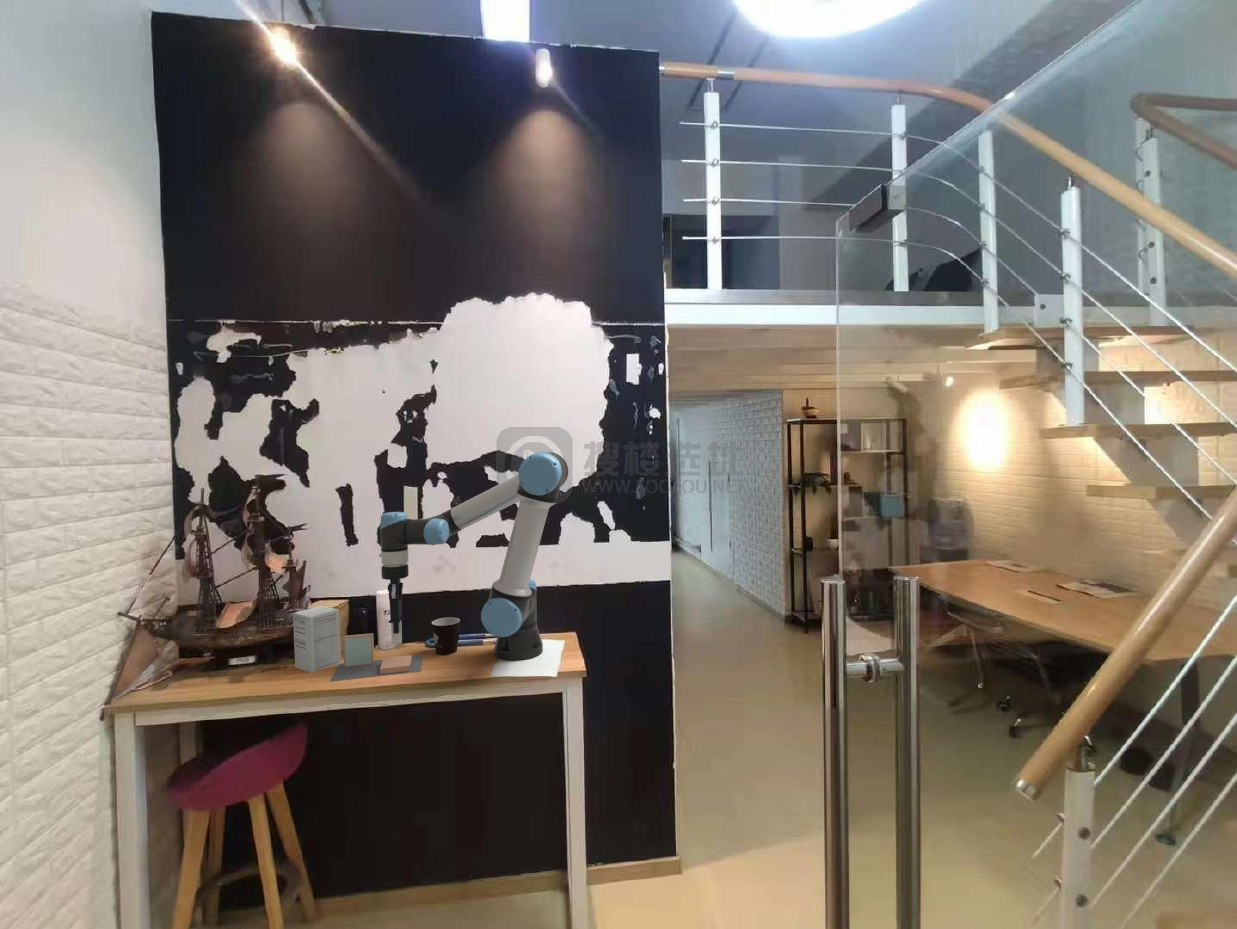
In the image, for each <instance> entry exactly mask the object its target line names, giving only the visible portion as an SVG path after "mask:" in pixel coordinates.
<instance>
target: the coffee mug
mask: <svg viewBox="0 0 1237 929" xmlns="http://www.w3.org/2000/svg"><path fill="white" fill-rule="evenodd" d="M460 622H461V619H460V618H459V617H449V616H448V617H442V618H437V619H435V620H434V619H433V621H431V628H432V634H433V636H432V637H433V642H434V648H435V649H434V650H435V654H436V655H438V656H448V655H452V654H455V653H457V651H458V646H459V645H458V643H459V641H460Z"/></svg>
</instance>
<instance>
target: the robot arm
mask: <svg viewBox="0 0 1237 929" xmlns="http://www.w3.org/2000/svg"><path fill="white" fill-rule="evenodd" d="M568 476H569V466H568V463H567V461H566V460H565V459H564V457H563V456H561V455H560V454H558V453H555V452H549V451H548V452H543V451H539V452H534V453H532V454H530V455H529V456H527V457H526V458H525V459H524V460H523V461H522V462H521V464H520V465H519V469H518V474H516V475H515V476H512V477H511V478H508V479H507V480H504V481H502V482H500V483H499V484H497V485H495V486H493V487H491V488H489V489H487V490H485V491H484V492H481V493H479V494H477V495H475V496H473V497H471V498H469V499H467V500H465V501H463V502H462V503H459V504H458V505H455V506H453V507H451V508H450V509H448V510H445V511H444V512H442V513H440V514H438V515H435V516H431V517H427V518H418V519H417V518H414V519H412V518H408V514H407V513H406V512H405V511H393V512H392V511H389V512H385V513H382V514H381V515H380V521H379V523H380V526H379V530H380V552H381V553H379V554H378V557H379V558H381V565H382V566H381V567H380V568H381V569H380V570H381V579H382V580H386V581H388V580H389V581H390V582H389V583H388V585H387V592H388V601H389V616H390V618H389V619H390V620H388V624H391V628H390V629H391V645H400V644H403V633H402V632H403V631H402V629H403V627H402V624H403V623H402V620H405V618H404V616H402V615H403V613H402V608H403V606H402V603H403V602H402V601H403V598H402V597H403V588H404V582H402V581H401V580H404V579H406V578H408V577H409V574H410V572H409V564H408V562H409V545H419V546H420V545H430V546H436V545H444V544H445V543H446V542H447V541H448V539H449V537H451V536H453V535H456V534H458V532H461V531H462V530H464V529H466V528H468V527H470V526H472V525H474V524H476V523H479V522H480V521H482V520H484V519H487V518H488V517H491V516H492V515H494V514H496V513H498V512H499V511H503V510H504V509H506V508H508V507H510V506H512V505H514V504H516V503H518V502H519V504H518V508H517V511H516V515H515V519H514V522H513V526H512V531H511V535H510V538H509V541H508V546H507V550H506V553H505V557H504V561H503V565H502V568H501V571H500V572H501V573H500V576H499V579H497V580H495V581H494V582H492V586H491V589H490V593H489V596H488V600H487V601H486V602H485V603H484V604H483V607H482V610H481V613H480V620H481V623H482V626H483V628H485V630H486V631H487V632H488V633H489V634H491V635H492V636H495V637H496V639H495V640H496V641H495V644H494V646H493V648H494V656H495V657H496V658H499V659H501V660H506V661H507V660H508V661H521V660H522V661H524V660H526V659H527V660H528V659H532V658H535V657H537V656H539V655H541V654H542V653H543V651H544V648H543V647H544V644H543V640H542V638H541V635H540V631H539V629H538V622H537V621H538V618H537V616H538V614H537V613H538V612H537V611H538V610H537V608H538V607H537V604H538V603H537V591H538V590H537V583H536V581H535V580H533V579H531V578H532V572H533V569H534V565H535V563H536V558H537V555H538V550H539V547H540V543H541V540H542V536H543V533H544V532H543V531H544V529H545V528H544V527H545V524H546V520H547V517H548V514H549V510H550V508H551V507H552V506H554V505H556V503H557V500H558V497H559V492H560V488H561V487H563V485H565V483H566V481H567V479H568Z"/></svg>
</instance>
